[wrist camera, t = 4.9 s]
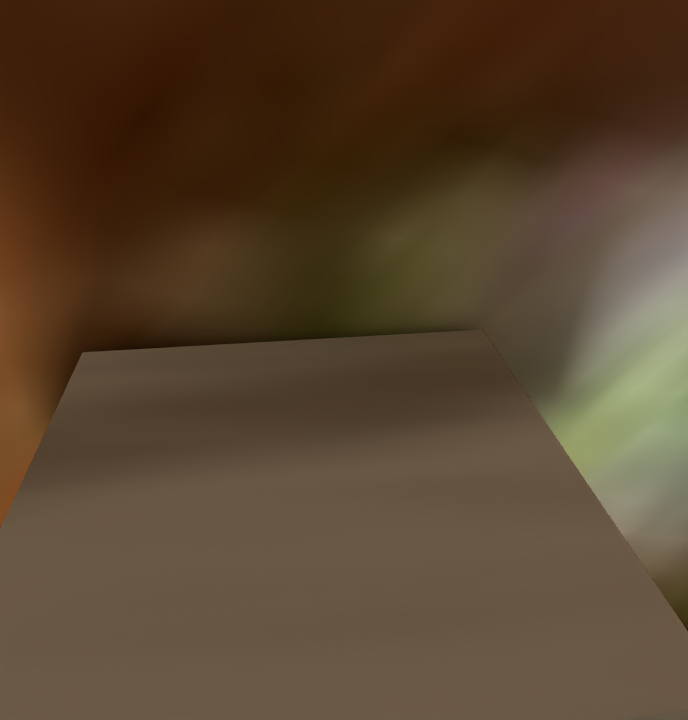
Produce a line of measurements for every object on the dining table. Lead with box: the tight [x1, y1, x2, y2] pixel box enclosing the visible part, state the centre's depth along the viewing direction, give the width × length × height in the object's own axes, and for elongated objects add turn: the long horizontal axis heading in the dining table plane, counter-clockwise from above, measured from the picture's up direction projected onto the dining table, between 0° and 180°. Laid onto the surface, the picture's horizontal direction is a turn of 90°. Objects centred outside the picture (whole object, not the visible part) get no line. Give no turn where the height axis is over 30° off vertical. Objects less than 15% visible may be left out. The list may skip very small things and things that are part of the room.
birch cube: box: [0, 330, 688, 720], centre depth 8 cm, size 6×6×6 cm
